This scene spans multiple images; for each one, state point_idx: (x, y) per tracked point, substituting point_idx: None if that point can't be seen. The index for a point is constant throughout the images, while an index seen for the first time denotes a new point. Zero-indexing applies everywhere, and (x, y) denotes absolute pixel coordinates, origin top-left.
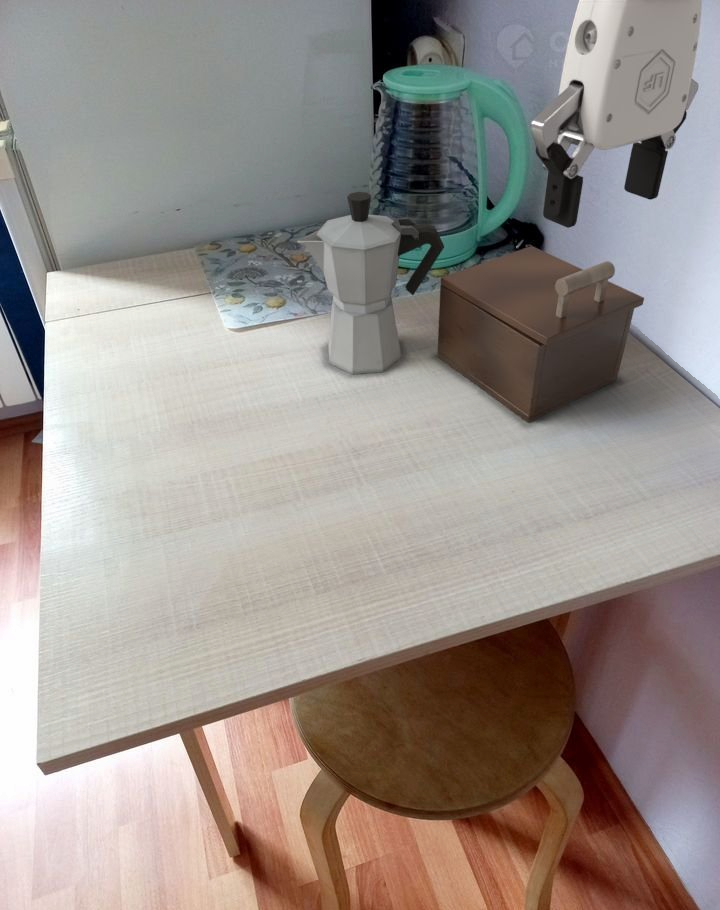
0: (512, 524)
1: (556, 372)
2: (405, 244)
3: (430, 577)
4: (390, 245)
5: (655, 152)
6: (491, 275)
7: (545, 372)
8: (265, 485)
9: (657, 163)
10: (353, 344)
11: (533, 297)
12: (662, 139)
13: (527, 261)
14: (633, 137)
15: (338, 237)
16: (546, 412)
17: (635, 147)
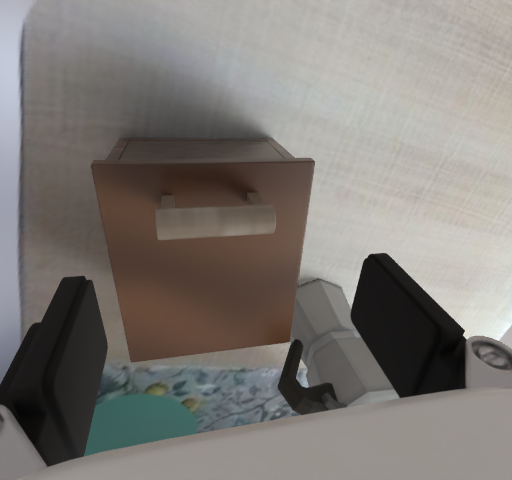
0: (407, 17)
1: (251, 152)
2: (329, 392)
3: (505, 16)
4: (371, 388)
5: (55, 403)
6: (239, 322)
7: (274, 154)
8: (487, 200)
9: (62, 359)
10: (350, 309)
11: (240, 255)
12: (32, 446)
13: (170, 332)
14: (392, 424)
15: None
16: (245, 138)
17: (78, 453)
